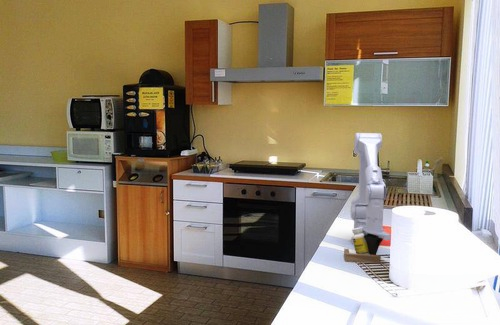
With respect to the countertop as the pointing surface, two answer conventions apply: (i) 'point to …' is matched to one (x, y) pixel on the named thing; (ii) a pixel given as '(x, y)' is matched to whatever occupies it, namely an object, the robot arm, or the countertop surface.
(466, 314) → the countertop surface
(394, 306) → the countertop surface
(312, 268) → the countertop surface
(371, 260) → the wooden l-shaped block
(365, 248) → the supplement bottle
